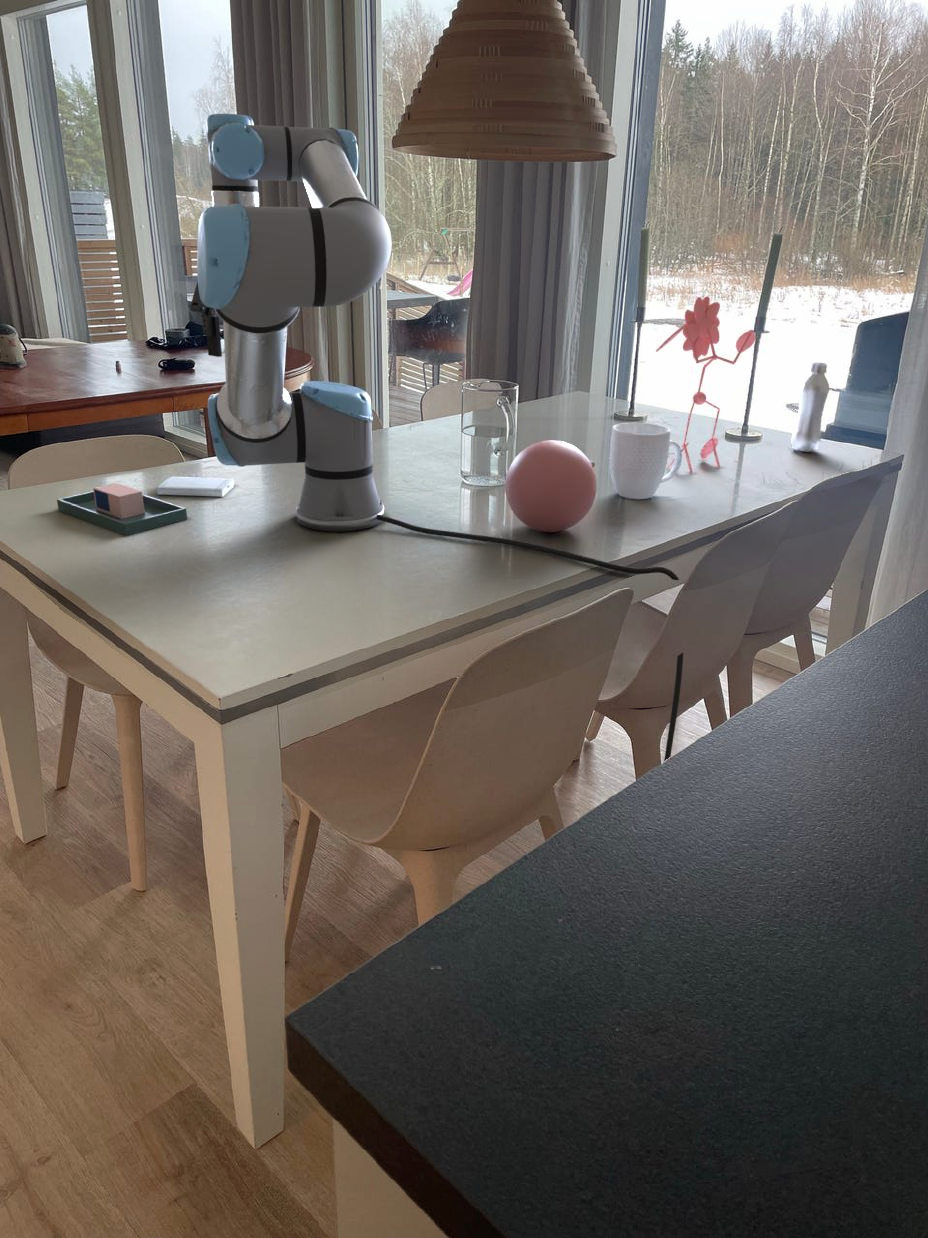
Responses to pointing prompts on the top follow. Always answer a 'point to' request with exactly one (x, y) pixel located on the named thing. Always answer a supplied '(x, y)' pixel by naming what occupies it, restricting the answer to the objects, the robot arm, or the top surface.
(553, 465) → the balloon
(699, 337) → the figurine
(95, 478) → the top surface
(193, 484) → the hard drive
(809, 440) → the plastic bottle
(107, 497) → the eraser
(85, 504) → the tray
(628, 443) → the mug
